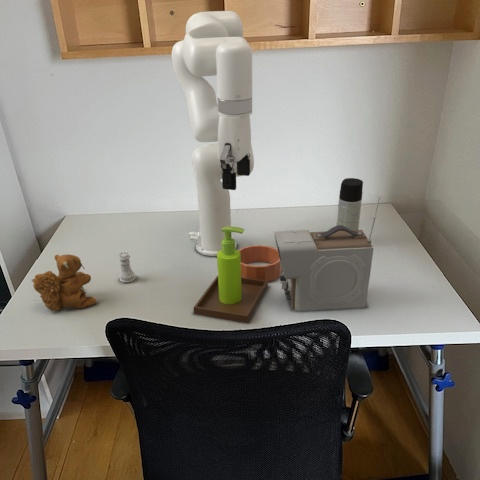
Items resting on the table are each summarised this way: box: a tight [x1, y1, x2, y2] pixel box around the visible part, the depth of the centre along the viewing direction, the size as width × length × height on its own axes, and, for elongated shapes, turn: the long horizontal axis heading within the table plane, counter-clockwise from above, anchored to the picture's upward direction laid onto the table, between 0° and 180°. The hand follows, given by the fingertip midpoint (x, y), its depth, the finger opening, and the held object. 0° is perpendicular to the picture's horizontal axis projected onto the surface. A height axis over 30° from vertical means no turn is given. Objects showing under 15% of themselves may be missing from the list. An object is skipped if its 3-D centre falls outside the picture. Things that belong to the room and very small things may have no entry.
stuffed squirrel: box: [31, 254, 98, 312], centre depth 137 cm, size 10×14×13 cm
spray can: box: [336, 177, 364, 230], centre depth 162 cm, size 7×7×20 cm
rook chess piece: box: [117, 251, 136, 284], centre depth 149 cm, size 4×4×8 cm
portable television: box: [273, 195, 381, 312], centre depth 131 cm, size 12×24×30 cm, turn 94°
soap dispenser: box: [216, 226, 245, 304], centre depth 135 cm, size 6×7×20 cm
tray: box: [193, 275, 269, 324], centre depth 140 cm, size 14×18×2 cm
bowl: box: [237, 244, 283, 283], centre depth 152 cm, size 13×13×5 cm
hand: (236, 181), depth 127 cm, fingers open, 9 cm apart
